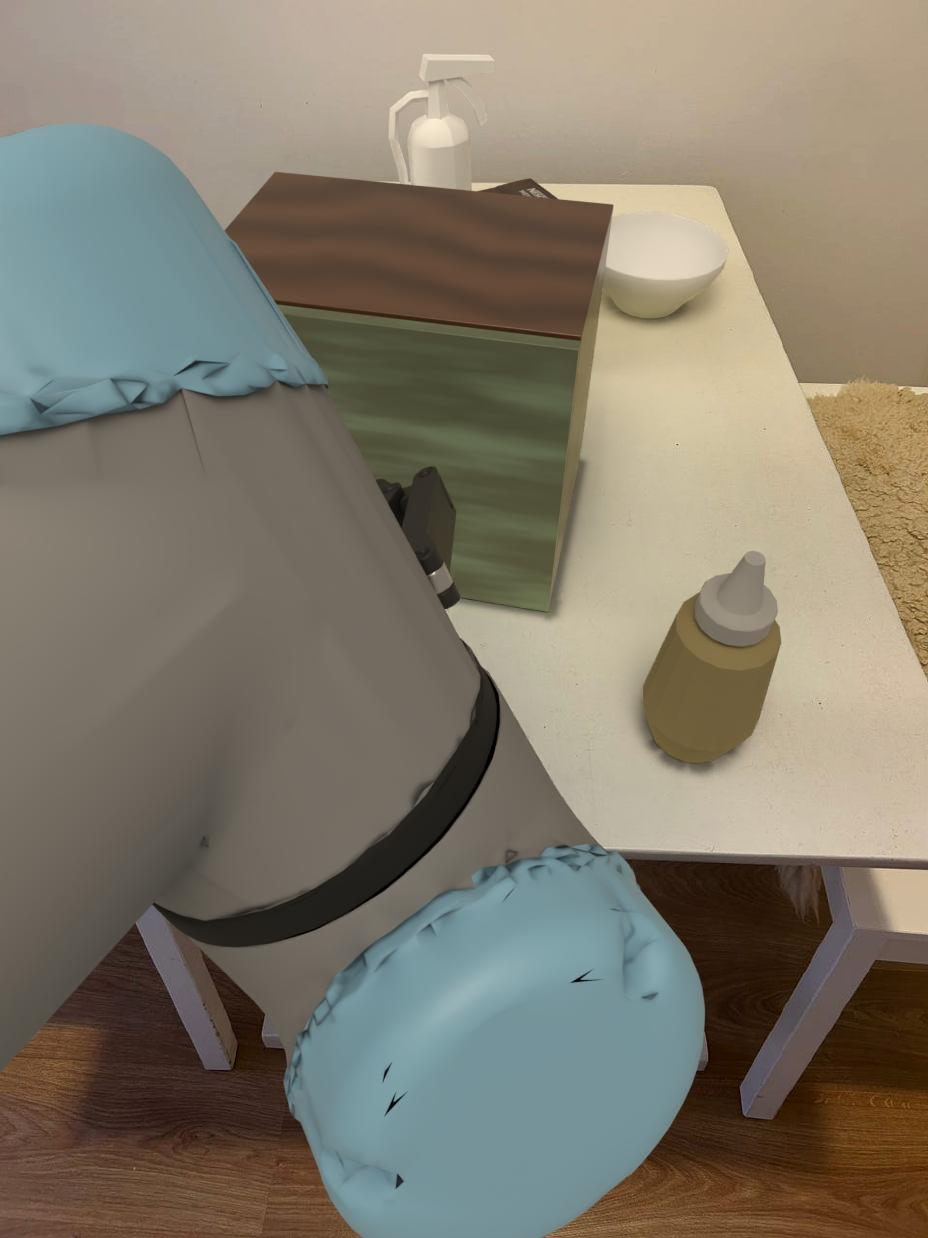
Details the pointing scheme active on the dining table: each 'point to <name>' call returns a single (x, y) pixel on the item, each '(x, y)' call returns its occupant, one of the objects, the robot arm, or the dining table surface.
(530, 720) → the dining table surface
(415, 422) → the cupboard door
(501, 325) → the cupboard
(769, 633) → the squeeze bottle
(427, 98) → the fire extinguisher
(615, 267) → the bowl
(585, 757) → the dining table surface
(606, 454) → the dining table surface
